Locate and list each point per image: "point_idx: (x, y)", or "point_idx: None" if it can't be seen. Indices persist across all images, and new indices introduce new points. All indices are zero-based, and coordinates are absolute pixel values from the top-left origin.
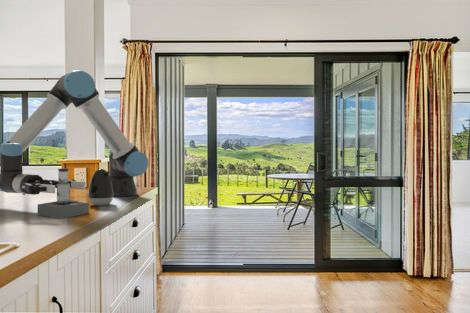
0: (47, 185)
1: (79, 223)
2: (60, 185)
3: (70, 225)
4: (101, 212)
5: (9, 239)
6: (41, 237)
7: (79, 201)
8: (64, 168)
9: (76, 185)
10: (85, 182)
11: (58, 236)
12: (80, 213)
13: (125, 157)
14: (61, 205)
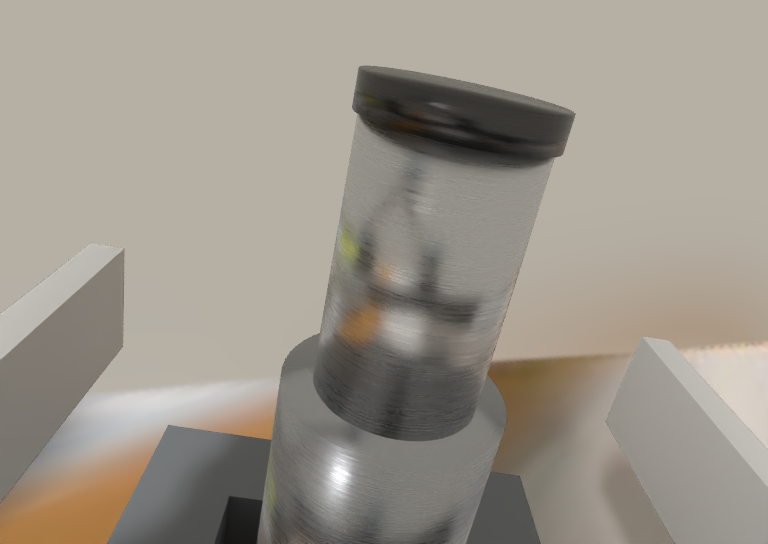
0: (729, 416)
1: (508, 395)
2: (486, 386)
3: (568, 407)
4: (122, 439)
5: None
6: (757, 394)
7: (129, 530)
8: (392, 78)
9: (44, 396)
10: (91, 252)
11: (693, 361)
12: None
13: None
14: (472, 533)
